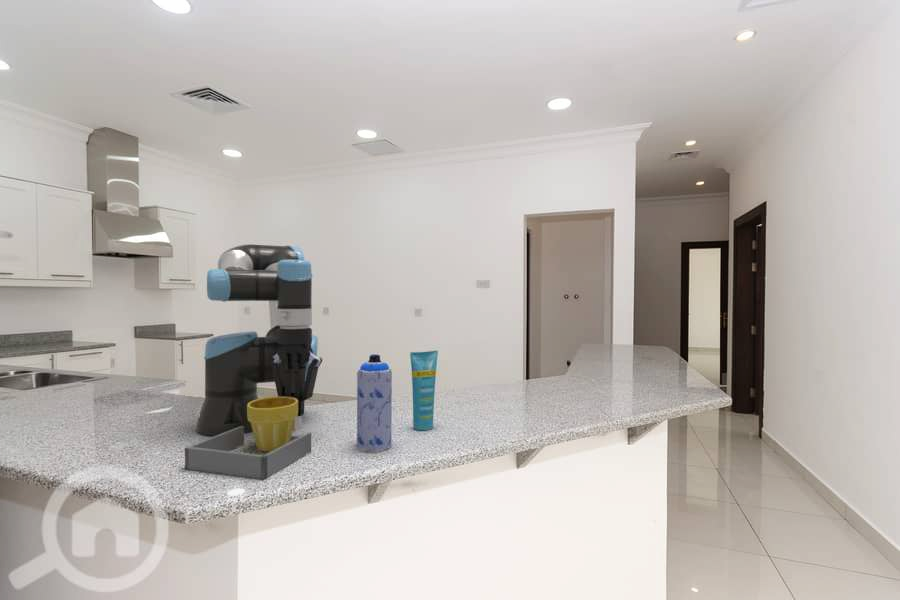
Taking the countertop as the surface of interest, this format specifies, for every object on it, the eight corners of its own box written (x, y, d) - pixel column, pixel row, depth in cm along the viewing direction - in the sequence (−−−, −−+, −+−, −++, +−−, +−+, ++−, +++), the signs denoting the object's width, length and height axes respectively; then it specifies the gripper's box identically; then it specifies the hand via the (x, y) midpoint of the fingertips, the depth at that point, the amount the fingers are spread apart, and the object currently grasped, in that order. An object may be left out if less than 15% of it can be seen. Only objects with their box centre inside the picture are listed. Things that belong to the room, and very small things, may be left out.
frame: (184, 468, 86) (184, 447, 86) (240, 443, 101) (241, 425, 101) (264, 479, 81) (264, 457, 81) (311, 451, 96) (311, 432, 96)
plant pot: (304, 448, 97) (303, 403, 97) (251, 458, 92) (251, 410, 92) (292, 435, 106) (291, 393, 106) (244, 443, 101) (243, 400, 100)
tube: (415, 432, 110) (415, 353, 109) (405, 427, 114) (406, 350, 113) (441, 427, 114) (441, 351, 113) (431, 423, 118) (431, 349, 118)
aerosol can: (398, 447, 99) (399, 355, 99) (365, 454, 94) (365, 358, 94) (382, 438, 105) (382, 351, 105) (350, 444, 101) (350, 354, 100)
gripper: (259, 327, 103) (260, 432, 103) (311, 329, 99) (311, 436, 100) (279, 325, 110) (280, 423, 110) (328, 326, 107) (329, 427, 107)
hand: (295, 429), depth 105 cm, fingers closed
